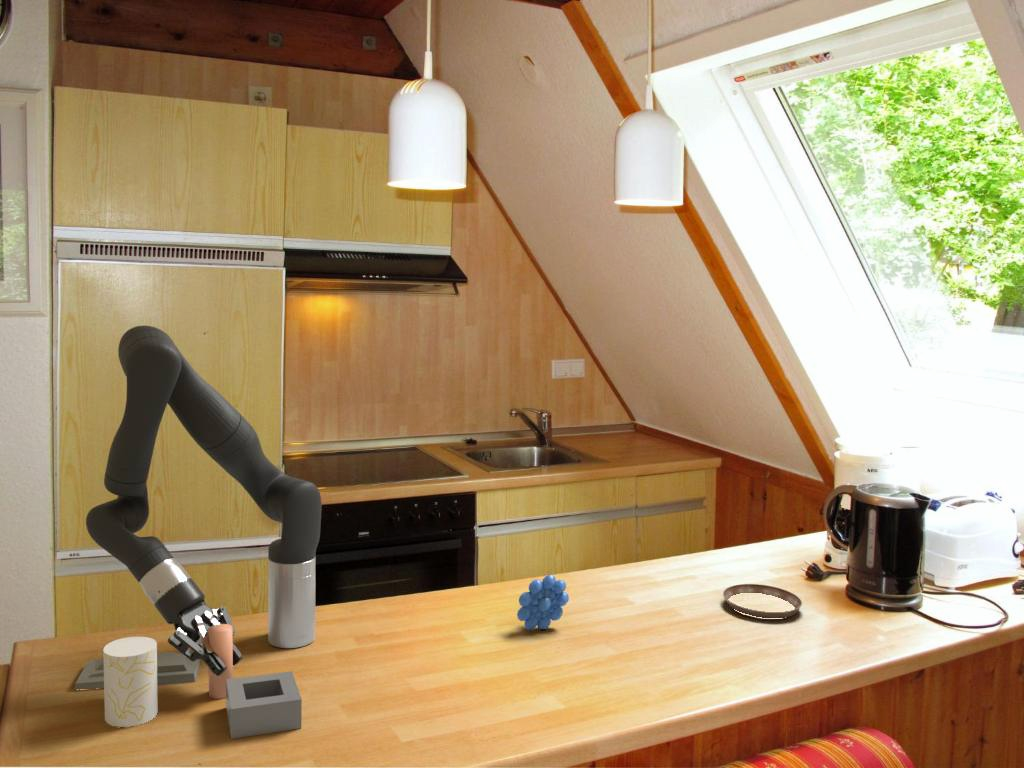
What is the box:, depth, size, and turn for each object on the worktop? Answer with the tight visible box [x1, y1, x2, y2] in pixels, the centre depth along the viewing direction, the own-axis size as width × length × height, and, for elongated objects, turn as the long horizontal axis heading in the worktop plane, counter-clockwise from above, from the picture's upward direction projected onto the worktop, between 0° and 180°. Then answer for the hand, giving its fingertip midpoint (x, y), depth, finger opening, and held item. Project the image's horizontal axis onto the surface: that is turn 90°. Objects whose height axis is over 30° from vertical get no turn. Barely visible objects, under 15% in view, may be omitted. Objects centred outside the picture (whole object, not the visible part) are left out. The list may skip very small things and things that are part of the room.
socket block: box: [225, 670, 303, 740], centre depth 151 cm, size 11×11×5 cm
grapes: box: [516, 574, 570, 631], centre depth 193 cm, size 12×7×12 cm, turn 110°
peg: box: [208, 624, 234, 700], centre depth 159 cm, size 4×4×12 cm
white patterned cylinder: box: [102, 636, 159, 728], centre depth 150 cm, size 8×8×12 cm
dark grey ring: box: [722, 583, 803, 618], centre depth 210 cm, size 18×18×3 cm
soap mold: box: [74, 651, 202, 691], centre depth 166 cm, size 10×20×4 cm, turn 104°
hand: (230, 666), depth 158 cm, fingers closed on peg, 4 cm apart
